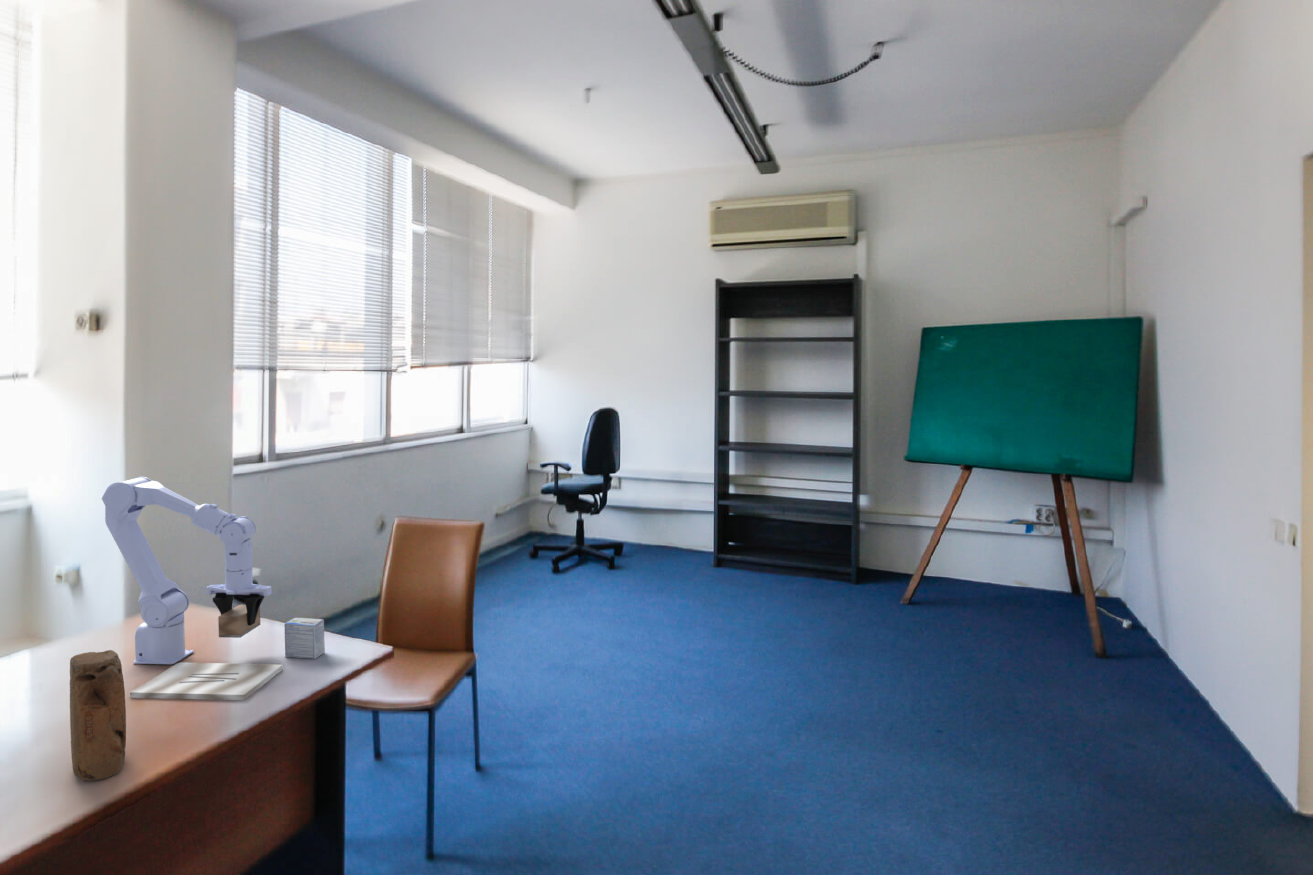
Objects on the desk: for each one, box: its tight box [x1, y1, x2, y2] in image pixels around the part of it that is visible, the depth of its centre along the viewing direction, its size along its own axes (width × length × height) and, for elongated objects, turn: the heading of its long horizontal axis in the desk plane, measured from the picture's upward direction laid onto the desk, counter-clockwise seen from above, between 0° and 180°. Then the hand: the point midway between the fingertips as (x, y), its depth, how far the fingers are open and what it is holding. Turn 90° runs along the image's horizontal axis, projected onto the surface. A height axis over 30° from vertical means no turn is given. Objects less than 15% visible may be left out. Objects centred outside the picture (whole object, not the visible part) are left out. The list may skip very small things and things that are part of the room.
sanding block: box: [217, 604, 261, 639], centre depth 174 cm, size 5×9×5 cm, turn 1°
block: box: [69, 649, 127, 782], centre depth 125 cm, size 11×8×20 cm
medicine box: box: [284, 617, 326, 660], centre depth 177 cm, size 8×4×9 cm, turn 84°
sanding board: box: [129, 661, 284, 701], centre depth 160 cm, size 24×16×1 cm, turn 91°
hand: (239, 623), depth 174 cm, fingers closed on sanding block, 5 cm apart
